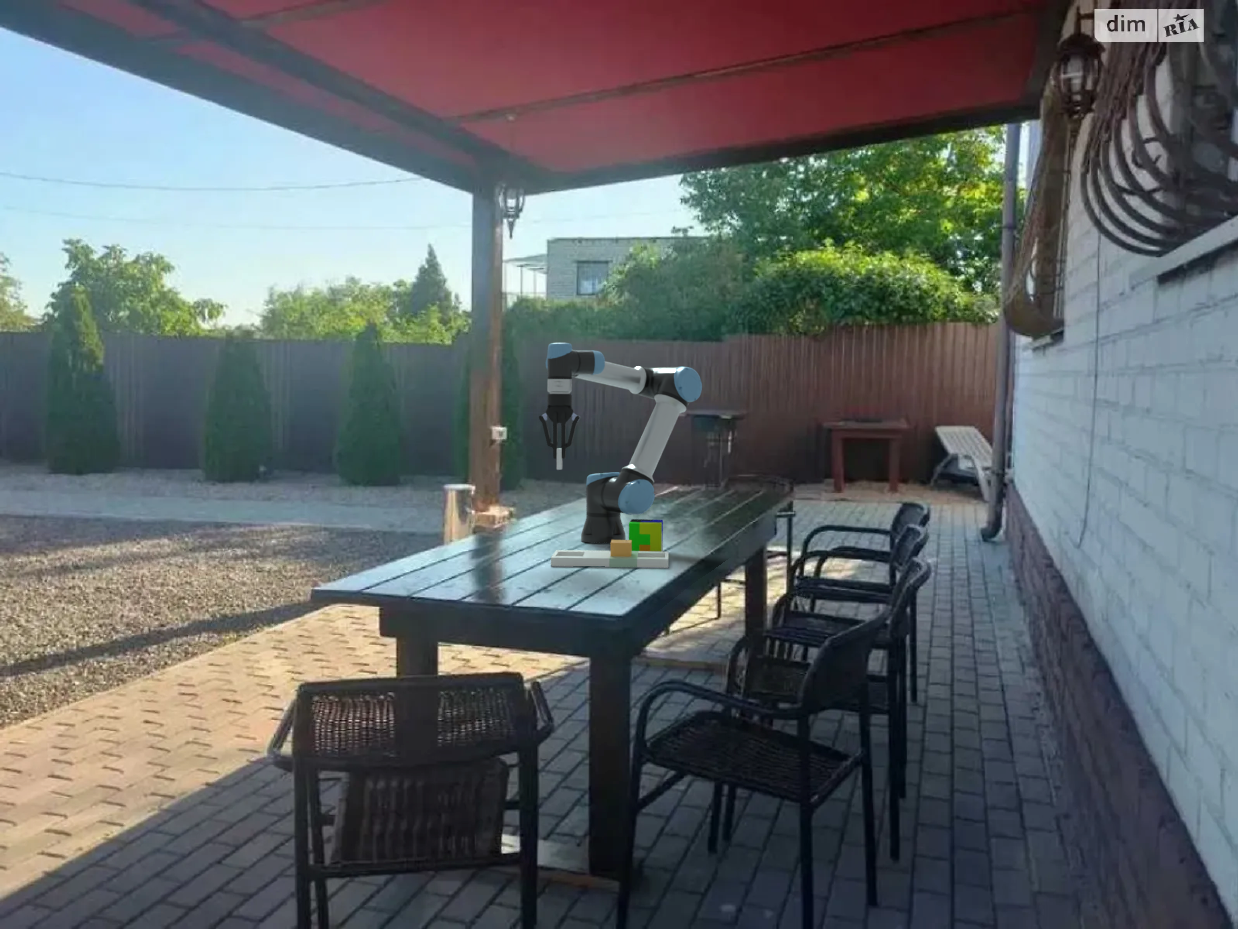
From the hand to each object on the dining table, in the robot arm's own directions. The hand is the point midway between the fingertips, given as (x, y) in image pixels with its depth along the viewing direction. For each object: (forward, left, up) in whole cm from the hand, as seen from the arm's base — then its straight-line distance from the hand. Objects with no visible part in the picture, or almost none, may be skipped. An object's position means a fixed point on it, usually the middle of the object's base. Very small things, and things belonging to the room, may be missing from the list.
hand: (559, 469), depth 313 cm
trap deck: (+16, +17, -26) cm, 35 cm away
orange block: (+16, +20, -24) cm, 35 cm away
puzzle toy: (-4, +27, -27) cm, 38 cm away
